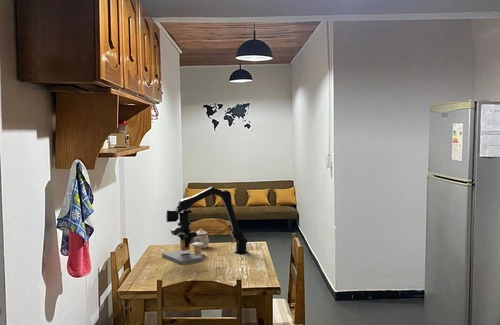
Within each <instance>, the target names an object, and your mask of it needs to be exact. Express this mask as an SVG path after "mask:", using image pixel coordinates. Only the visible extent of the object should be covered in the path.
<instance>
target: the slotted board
mask: <svg viewBox="0 0 500 325" xmlns="http://www.w3.org/2000/svg"><path fill="white" fill-rule="evenodd" d="M161 256H162V257H163V258H165V259H167V260H169V261H172V262H174V263H177V264H179V265H181V266H182V265H187V264H191V263H192V264H193V263H198V262H202V261H204V256H199V255H196V254H194V252H191V251H189V250H185V251H182V250H181V249H180V250H174V251H168V252H162V255H161Z"/></svg>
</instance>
